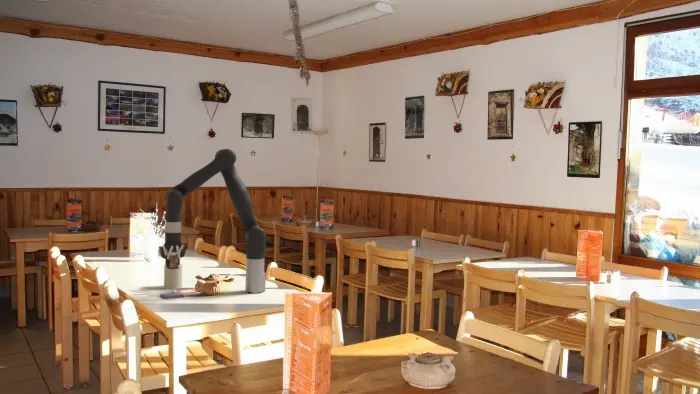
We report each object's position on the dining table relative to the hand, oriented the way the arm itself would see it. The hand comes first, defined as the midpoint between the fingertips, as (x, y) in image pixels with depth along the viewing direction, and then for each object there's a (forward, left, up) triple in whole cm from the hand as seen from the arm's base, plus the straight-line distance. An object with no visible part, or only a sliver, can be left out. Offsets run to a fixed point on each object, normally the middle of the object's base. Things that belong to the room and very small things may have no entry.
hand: (172, 266), depth 295 cm
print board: (-10, -5, -15) cm, 19 cm away
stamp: (0, 0, -1) cm, 1 cm away
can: (-9, -21, -15) cm, 27 cm away
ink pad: (0, 0, -15) cm, 15 cm away
